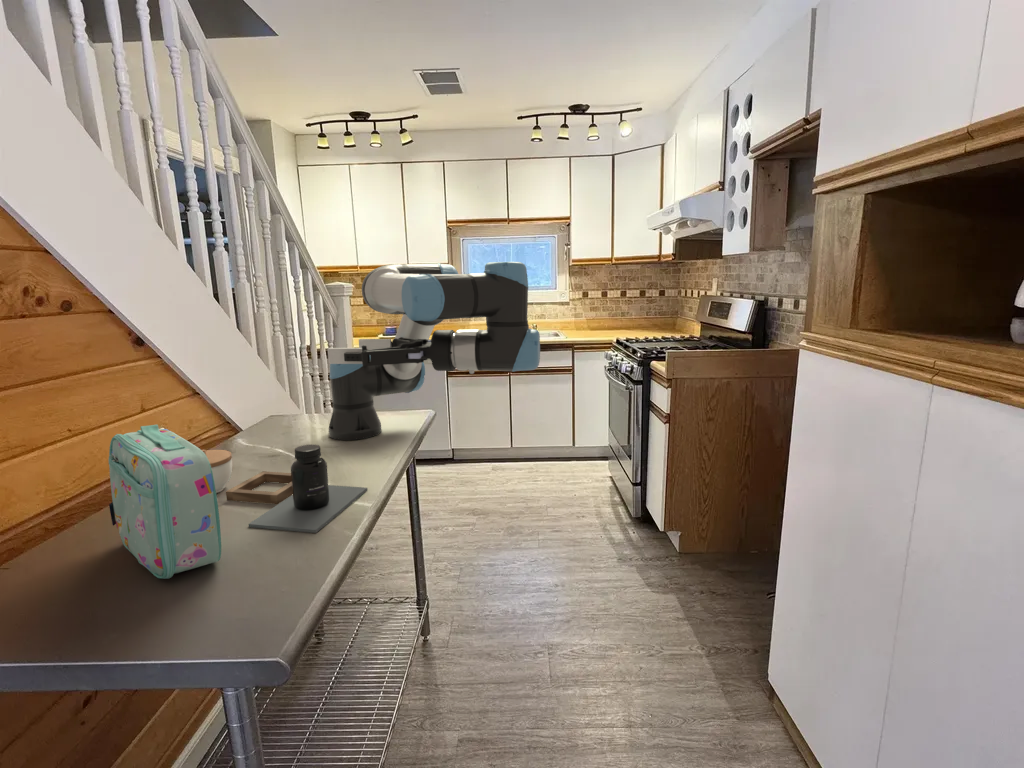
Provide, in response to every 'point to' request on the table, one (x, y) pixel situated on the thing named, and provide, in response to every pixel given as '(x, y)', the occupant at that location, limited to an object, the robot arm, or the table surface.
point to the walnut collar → (248, 495)
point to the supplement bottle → (309, 478)
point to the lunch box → (164, 501)
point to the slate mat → (308, 512)
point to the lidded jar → (220, 467)
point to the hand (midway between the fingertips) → (345, 350)
